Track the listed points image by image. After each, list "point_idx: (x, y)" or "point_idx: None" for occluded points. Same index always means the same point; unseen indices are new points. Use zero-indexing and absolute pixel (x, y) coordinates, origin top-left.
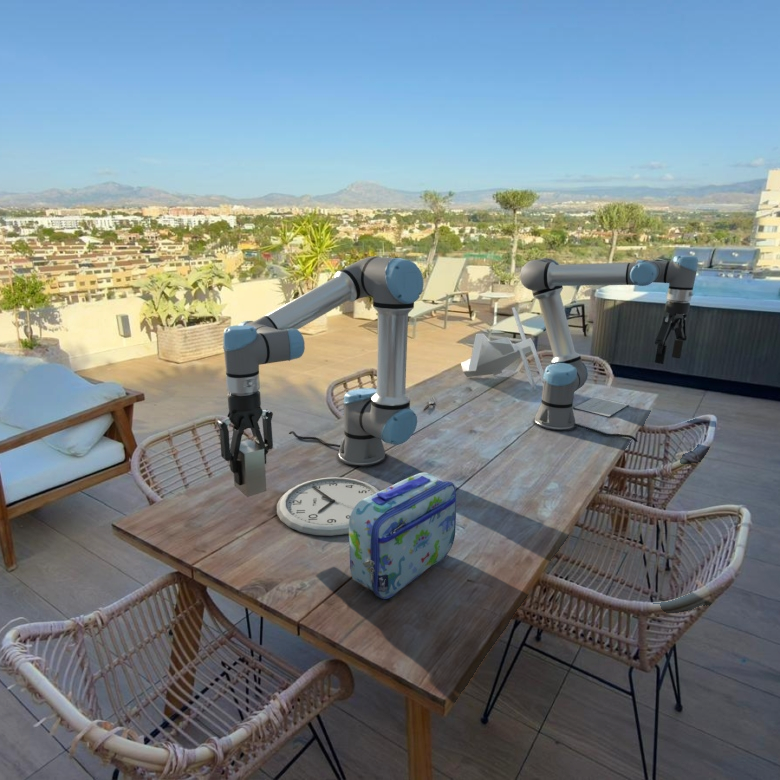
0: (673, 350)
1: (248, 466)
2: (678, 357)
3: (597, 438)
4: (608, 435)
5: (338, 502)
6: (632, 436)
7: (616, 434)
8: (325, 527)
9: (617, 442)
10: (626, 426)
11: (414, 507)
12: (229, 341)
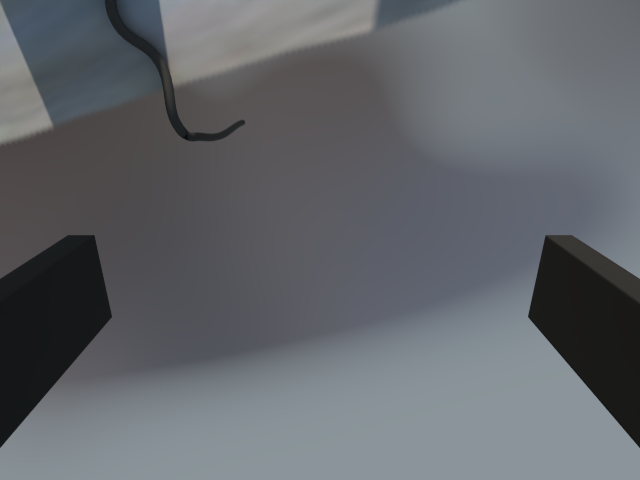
0: (598, 285)
1: None
2: (534, 313)
3: (60, 6)
4: (115, 28)
5: None
6: (171, 115)
7: (145, 51)
8: None
9: (103, 88)
10: (307, 12)
11: None
12: None
